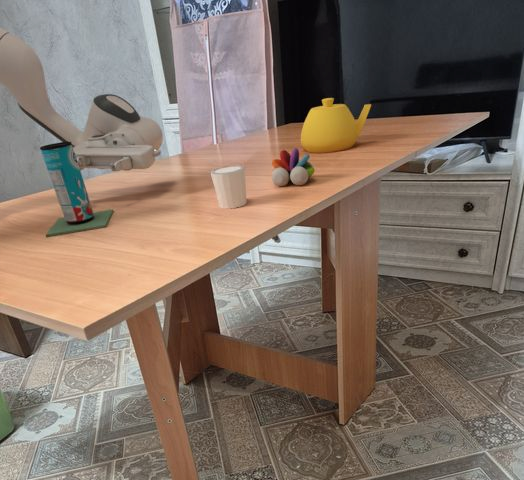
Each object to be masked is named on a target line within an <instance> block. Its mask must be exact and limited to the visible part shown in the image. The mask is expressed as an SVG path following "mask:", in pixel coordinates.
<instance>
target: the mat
mask: <svg viewBox="0 0 524 480" xmlns="http://www.w3.org/2000/svg"><path fill="white" fill-rule="evenodd" d="M93 213H94V218H93V219H92V220H90V221H88V222H85V223H81V224H74V225H72V224H68V223H67V222H66V221H65V218H64V216H63V217H58V219H56V221H55V222H54V223H53V225H52V226H51V227H50V228H49V230H48V231H47V232H46V233H45V237H46V238H50V237H56V236H61V235H68V234H73V233H79V232H86V231H90V230H91V231H92V230H98V229H103V228H107V227H108V224H109V222H110V220H111V219H112V215H113V214H114V209H113V208H112V209H111V208H110V209H106V210H100V211H93Z"/></svg>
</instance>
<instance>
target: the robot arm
mask: <svg viewBox="0 0 524 480" xmlns="http://www.w3.org/2000/svg"><path fill="white" fill-rule="evenodd" d="M45 77H46V76H45V71H44V67H43V65H42V62H41V59H40V58H39V55H38V53H37V52H36V51H35V49H34V48H32V46H31V45H30V44H27V42H25V41H24V40H23V39H21V38H20V37H18V36H16V35H14V34H12V33H11V32H10V31H7V30H6V29H4V28H2V27H0V85H1V86H2V87H3V88H4V89H6V90H7V91H8V92H9V94H10V95H11V96H12V97H13V98H14V99H15V101H16V102H17V105H18V108H19V109H20V110H21V111H22V112H23V114H25V115H26V116H27V117H28V118H30V119H31V120H33V121H34V122H35V123H36V124H38V126H40V127H41V128H43V129H44V130H46V131H47V132H48V133H50V134H51V135H52V136H54V137H55V138H56V139H58V140H59V141H60V142H71V143H72V144H71V145H72V147H73V150H74V153H75V156H76V159H77V162H78V165H79V168H80V171H81V172H82V171H83V170H85V169H98V170H105V169H106V170H107V169H109V170H111V171H112V172H120V171H126V172H127V171H131V170H147V169H149V168H151V167H152V166H153V165H154V164H155V163H156V157H159V156H161V154H162V151H161V150H160V148H161V146H162V144H163V140H164V137H163V132H162V128H161V127H160V124H159V123H157V121H155V120H154V119H152V118H150V117H144V116H141V115H140V114H139V113H138V111H137V110H136V109H135V107H134V106H133V105H132V104H131V103H130V102H128V101H127V100H126V99H124V98H122V96H121V97H120V96H119V95H117V94H113V93H105V94H98V95H97V96H95V97H94V98H93V99H92V103H91V106H90V108H89V112H88V114H87V120H86V123H85V126H84V129H83V131H82V130H81V129H80V128H78V127H77V126H75V125H74V124H73V123H72V122H70V121H69V120H68V119H67V118H65V117H64V116H63V115H61V114H60V113H59V112H57V110H56V109H55V108H54V107H53V105H52V104H51V101H50V98H49V94H48V91H47V85H46V78H45Z"/></svg>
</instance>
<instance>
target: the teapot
mask: <svg viewBox="0 0 524 480" xmlns="http://www.w3.org/2000/svg"><path fill="white" fill-rule="evenodd" d="M334 100H335V98H334V97H327V98H323V99H321V103H322V105H319V106H315V107H311V108H310V110H309V111H308V113H307V116H306V117H305V120H304V122H303V125H302V128H301V133H300V144H301V146H302V148H303V149H304V150H305V151H306V152H307V153H312V154H313V153H314V154H323V153H333V152H334V153H335V152H340V151H344V150H348V149H351V148H352V147H354V145H355V144H356V143H357V141H358V139H359V136H361V133H362V131H363V128H364V125H365V122H366V120H367V117H368V115H369V113H370V110H371V107H372V104H371V103H368V104H364V106H363V108H362V110H361V112H360V115H359V116H358V118H357V120H355V117H354V116H353V114H352V112H351V111H350V108H349V107H348V106H347V105H346V104H345V103H335V104H333V103H334Z"/></svg>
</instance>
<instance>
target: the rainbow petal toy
mask: <svg viewBox="0 0 524 480" xmlns="http://www.w3.org/2000/svg"><path fill="white" fill-rule="evenodd" d="M310 157H311V156H310V154H308V153H306V154H305V155H304V156H303V157H302V158H301V159H300V150H299V149H298V148H296V147H294V148H293V149H292V150H291V153H289V151H287V150H286V149H282V150H281V151H280V153H279V158H280V159H279V158H275V159H273V160H272V161H271V162H272V163H271V166H273V168H274V169H273V171H272V173H271V180H272V183H273V184H274V185H275V186H277V187H285V186H286V185H288V183H289V181H291V183H293V185H295V186H303V185H305V184H306V183H307V182H308V180H309V179H311V177H312V176H313V175H314V174H315V171H316V170H315V167H314V166H313V163H312V162H310V161H309V159H310Z"/></svg>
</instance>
